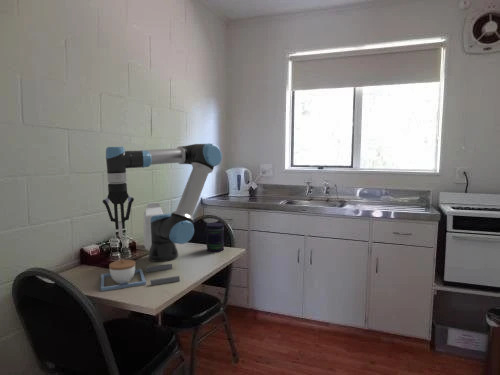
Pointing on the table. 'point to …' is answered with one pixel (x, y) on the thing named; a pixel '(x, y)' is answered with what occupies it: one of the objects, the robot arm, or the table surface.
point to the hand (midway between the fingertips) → (120, 236)
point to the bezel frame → (122, 284)
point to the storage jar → (215, 237)
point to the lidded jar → (122, 270)
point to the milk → (149, 212)
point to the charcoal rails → (162, 280)
